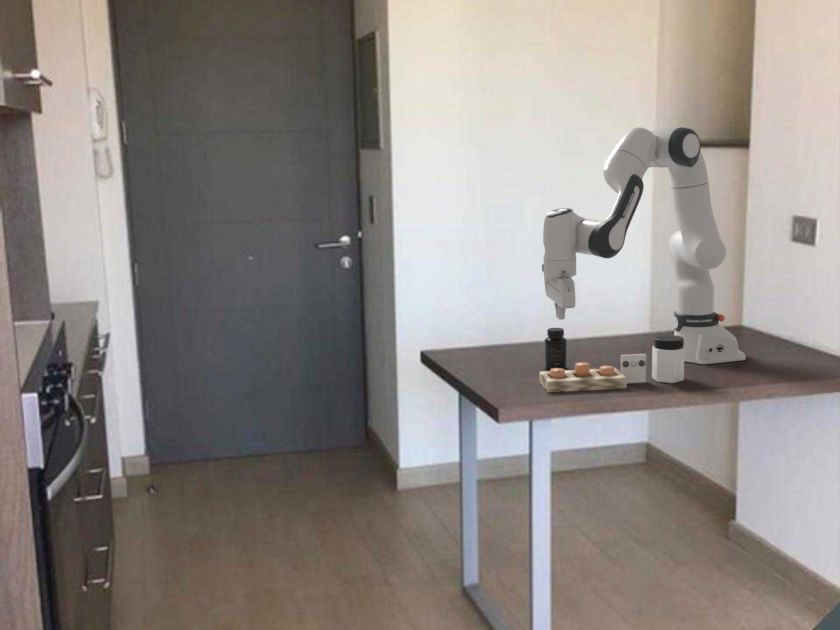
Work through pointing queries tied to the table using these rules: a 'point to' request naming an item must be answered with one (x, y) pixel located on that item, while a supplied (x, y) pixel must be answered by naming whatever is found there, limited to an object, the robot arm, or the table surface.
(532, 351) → the table surface
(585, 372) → the button mid
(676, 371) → the jar
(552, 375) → the button
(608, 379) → the wooden egg tray
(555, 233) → the robot arm
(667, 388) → the table surface
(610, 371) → the button
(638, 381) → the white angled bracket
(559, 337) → the supplement bottle
